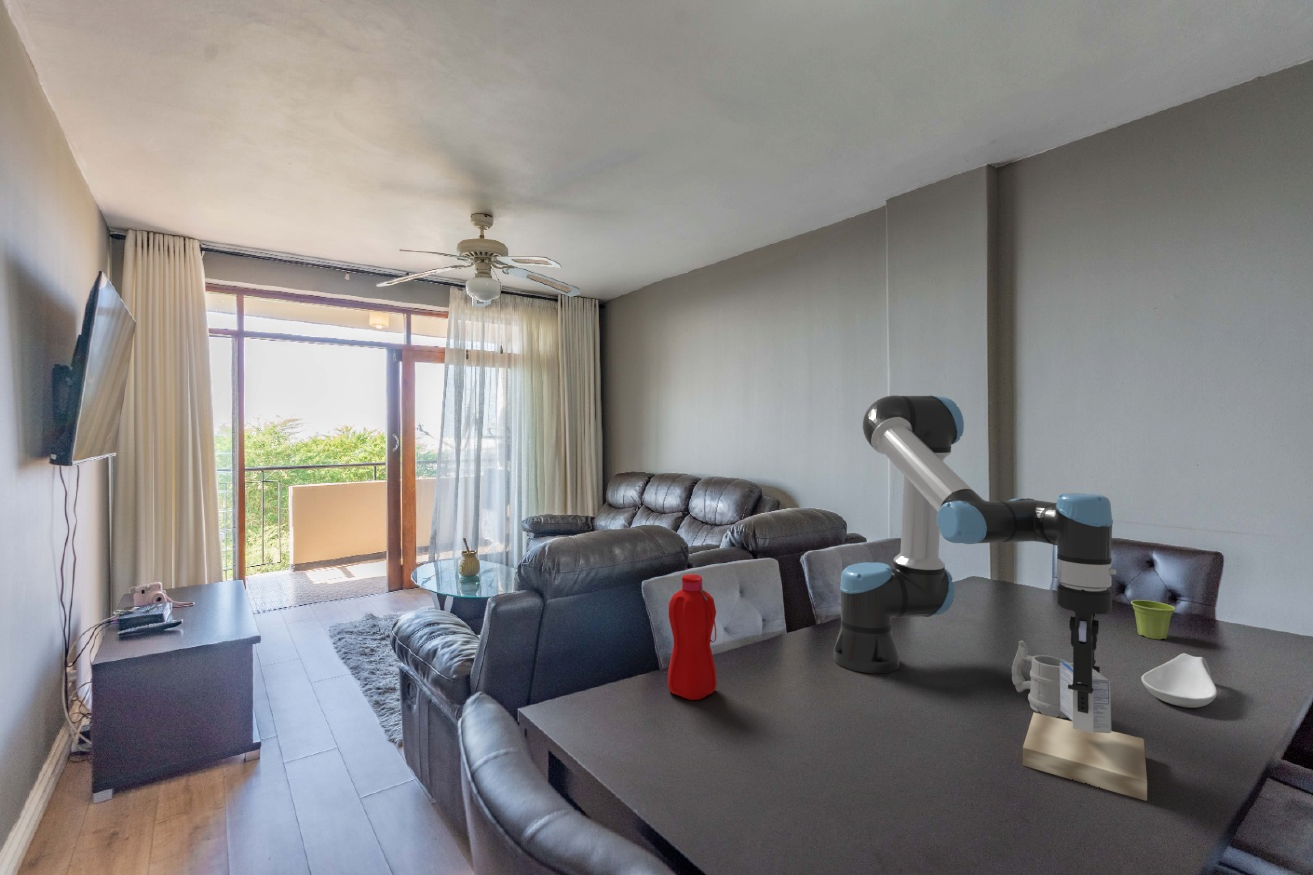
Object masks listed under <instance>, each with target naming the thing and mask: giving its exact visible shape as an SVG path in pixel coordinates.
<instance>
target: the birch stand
mask: <svg viewBox="0 0 1313 875" xmlns="http://www.w3.org/2000/svg"><path fill="white" fill-rule="evenodd" d="M1032 713H1033V714H1032V716H1031V719H1030V722H1029V725H1028V730H1027V733H1026V736H1025V740H1024V742H1023V745H1022V766H1023V767H1027V768H1030V769H1033V770H1037V771H1041V772H1045V773H1048V774H1052V775H1053V776H1054V775H1055V776H1058V777H1062V778H1066V779H1067V780H1072V779H1073V780H1072V781H1076V782H1079V783H1082V784H1085V783H1087V784H1086V785H1089V784H1090V785H1089V786H1093V787H1095V788H1099V787H1100V789H1103V790H1107V791H1110V792H1114V793H1117V794H1121V795H1124V796H1127V797H1131V798H1134V799H1137V800H1141V801H1144V802H1145V801H1146V802H1148V776H1147V766H1146V765H1147V764H1146V754H1145V753H1146V751H1145V739H1144V738H1142V737H1139V736H1138V737H1137V736H1133V735H1129V734H1125V733H1122V732H1116V731H1113V730H1111V733H1101V732H1094V733H1088V732H1084V731H1080V730H1076V729H1073V721H1072V720H1067V719H1064V718H1060V717H1051V716H1047V715H1044V714H1042V713H1039V712H1032Z"/></svg>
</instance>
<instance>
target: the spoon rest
mask: <svg viewBox="0 0 1313 875" xmlns="http://www.w3.org/2000/svg"><path fill="white" fill-rule="evenodd" d="M1140 678H1141V683H1142V684H1143V686H1144V688H1146V689H1147V691H1148V692H1149V693H1151V695H1153V696H1154V697H1155V698H1157V699H1158V700H1160V701H1162V702H1165V703H1167V704H1170V705H1173V706H1176V707H1180V708H1181V707H1182V708H1186V709H1187V708H1188V709H1193V708H1194V709H1195V708H1201V707H1205V706H1207V705H1209V704H1211V703H1212V702H1213V701H1214V700H1215V699H1216V697H1217V695H1218V691H1217V688H1216V685H1215V682H1214V681H1213V679H1212V673H1211V669H1210V668H1209V664H1208V662H1207V661H1206V659H1205V658H1204V657H1203V656H1193V655H1190V654H1188V653H1185V652H1183V653H1181V654H1178V655H1177V656H1175V657H1174V658H1172V659H1171V660H1168V661H1167V662H1165V663H1163V664H1161V665H1159V666H1156V667H1154V668H1153V669H1151V670H1149V671H1147V672H1145V673H1144V674H1142V676H1141V677H1140Z"/></svg>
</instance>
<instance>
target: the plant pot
mask: <svg viewBox="0 0 1313 875" xmlns="http://www.w3.org/2000/svg"><path fill="white" fill-rule="evenodd" d="M1130 604H1131V605H1132V608H1133V611H1134V615H1135V623H1136V629H1137V634H1138V635H1139V636H1144V637H1145V638H1147V639H1153V640H1162V639H1164V640H1167V638H1168V633H1169V628H1170V622H1171V617H1172V615H1173V614H1174V611H1175V610H1176V607H1175V606H1173V605H1170V604H1167V603H1163V602H1159V601H1153V600H1145V599H1144V600H1143V599H1134V600H1131V601H1130Z"/></svg>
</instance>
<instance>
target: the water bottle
mask: <svg viewBox="0 0 1313 875" xmlns="http://www.w3.org/2000/svg"><path fill="white" fill-rule="evenodd" d="M680 580H681V589H680V590H678V591H677V592H675V593H673V595H672V596H671V598H670V600H669V603H668V620H669V624H670V629H671V633H672V637H673V638H672V639H673V640H672V641H673V647H672V650H671V656H670V661H669V665H668V672H667V674H668V675H667V687H668V690H669V692H671V694H672V695H673V694H674V695H675V696H679V697H681V698H684V699H687V700H689V701H699V700H702V699H704V698H706V697H708V696H709V695H711V694H713V693H714V691H716V688H717V670H716V665H715V661H714V660H715V659H714V656H713V651H712V647H711V643H715V642H716V640H717V626H716V616H717V609H716V606H715V605H716V604H715V600H714V598H713V596H712V595H711V594H710V593H709V592H707V591H705V590H704V589H703V588H704V587H703V577H702V576H701V574H700V575H699V574H695V573H694V574H684V575H682V577H681V579H680ZM713 630H714V640H712V639H711V638H712V635H713Z"/></svg>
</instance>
